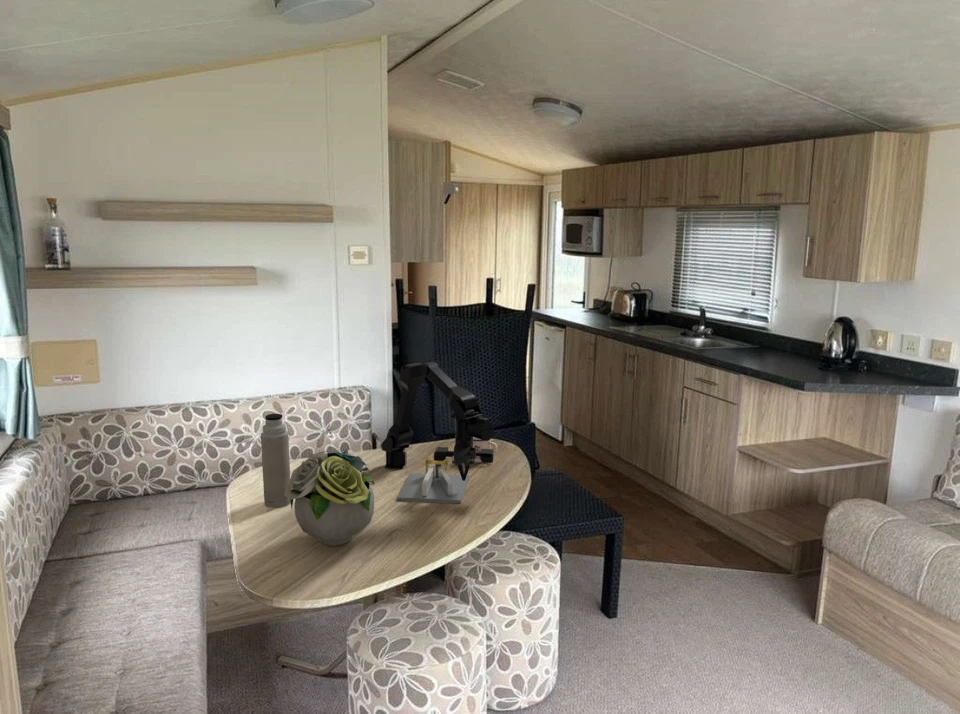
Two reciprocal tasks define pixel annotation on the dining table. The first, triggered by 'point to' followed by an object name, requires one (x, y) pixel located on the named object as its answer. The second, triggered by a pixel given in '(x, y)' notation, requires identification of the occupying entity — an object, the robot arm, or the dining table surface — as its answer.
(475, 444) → the teacup with lid
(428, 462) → the lock collar
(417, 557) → the dining table surface
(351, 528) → the flower arrangement
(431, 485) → the tongs base
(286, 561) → the dining table surface
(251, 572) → the dining table surface
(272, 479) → the thermos bottle
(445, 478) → the tong arm
